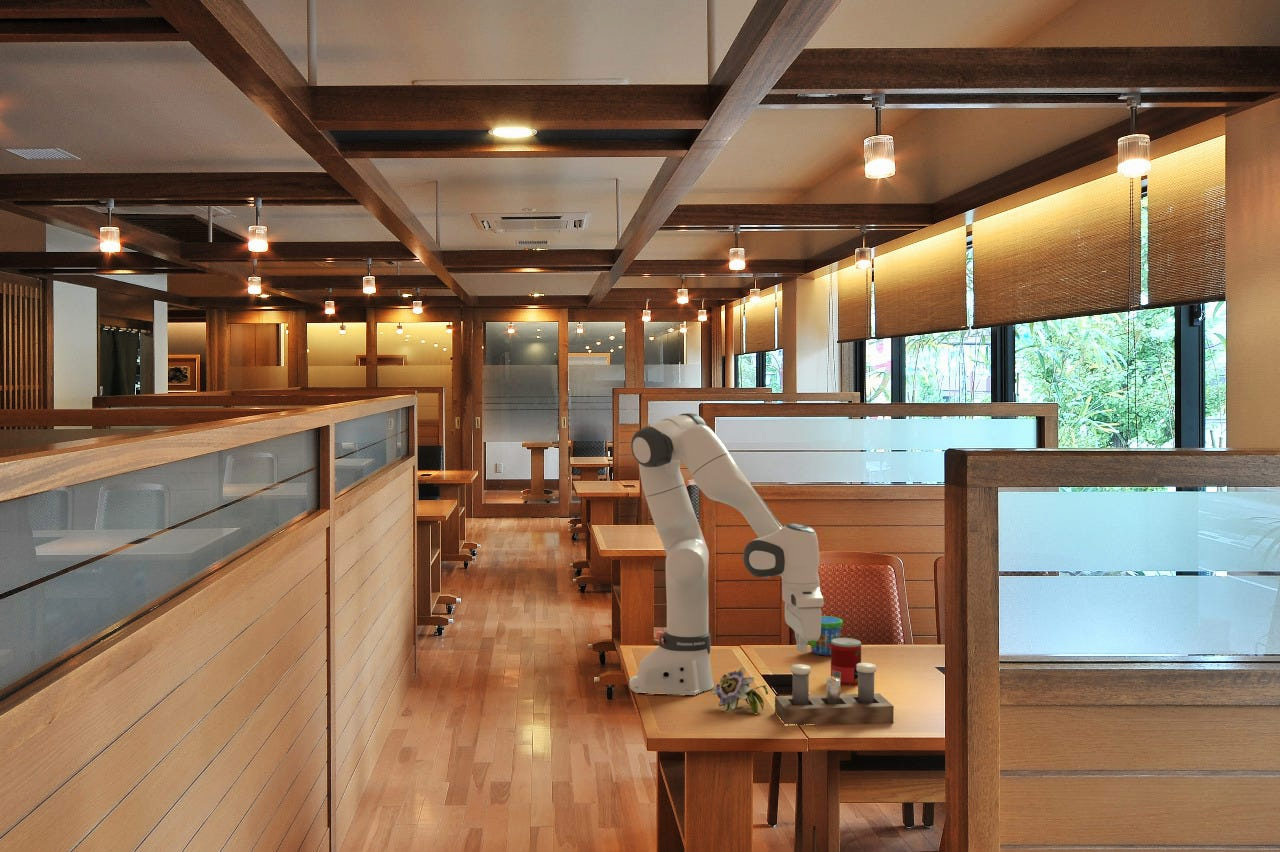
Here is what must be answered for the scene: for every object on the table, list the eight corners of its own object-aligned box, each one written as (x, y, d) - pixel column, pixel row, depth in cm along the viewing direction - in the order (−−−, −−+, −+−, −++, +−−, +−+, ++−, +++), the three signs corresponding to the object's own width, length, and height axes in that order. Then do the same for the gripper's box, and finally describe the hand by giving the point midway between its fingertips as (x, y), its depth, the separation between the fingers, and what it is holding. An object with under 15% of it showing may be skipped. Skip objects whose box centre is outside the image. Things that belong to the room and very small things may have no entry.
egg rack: (784, 726, 230) (784, 709, 230) (774, 712, 240) (775, 696, 240) (893, 722, 233) (893, 706, 232) (879, 709, 242) (879, 693, 242)
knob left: (793, 708, 233) (793, 669, 233) (788, 702, 238) (788, 664, 237) (812, 708, 233) (812, 669, 233) (807, 702, 238) (807, 664, 238)
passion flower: (726, 733, 241) (700, 689, 244) (752, 714, 249) (726, 672, 252) (754, 717, 234) (726, 672, 237) (780, 698, 242) (753, 655, 245)
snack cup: (825, 645, 305) (825, 612, 305) (854, 651, 298) (854, 618, 297) (794, 654, 294) (794, 620, 294) (823, 661, 287) (823, 626, 287)
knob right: (859, 706, 234) (859, 668, 234) (853, 700, 239) (853, 662, 239) (878, 706, 235) (878, 667, 235) (872, 700, 239) (872, 662, 239)
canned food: (861, 686, 262) (861, 645, 261) (830, 684, 263) (830, 643, 263) (860, 678, 269) (861, 638, 269) (830, 676, 271) (831, 636, 270)
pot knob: (828, 706, 234) (828, 680, 234) (824, 702, 238) (825, 676, 237) (841, 706, 235) (842, 679, 235) (837, 702, 238) (838, 676, 238)
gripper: (777, 585, 245) (778, 640, 245) (798, 602, 224) (799, 662, 225) (802, 584, 245) (803, 639, 245) (825, 600, 225) (826, 661, 225)
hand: (802, 650), depth 235 cm, fingers closed
